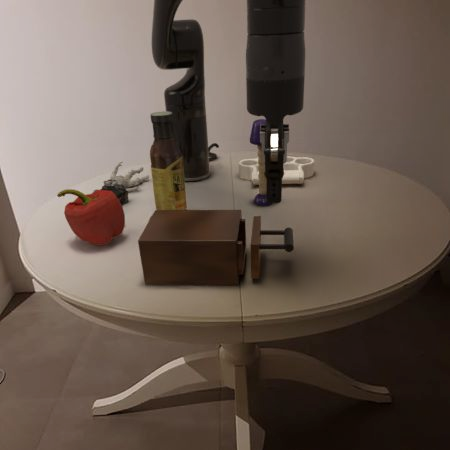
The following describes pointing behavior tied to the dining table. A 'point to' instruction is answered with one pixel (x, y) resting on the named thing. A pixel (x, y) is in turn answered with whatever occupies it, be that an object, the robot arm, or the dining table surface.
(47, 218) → the dining table surface
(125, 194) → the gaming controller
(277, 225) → the dining table surface
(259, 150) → the toy lamp
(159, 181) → the sauce bottle
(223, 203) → the dining table surface
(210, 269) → the cabinet
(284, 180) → the white brass knuckles
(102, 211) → the vegetable
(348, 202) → the dining table surface
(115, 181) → the grey branched piece
